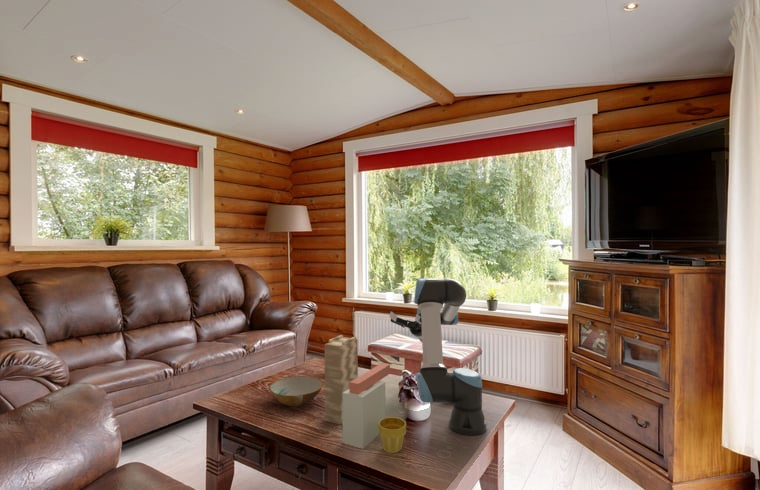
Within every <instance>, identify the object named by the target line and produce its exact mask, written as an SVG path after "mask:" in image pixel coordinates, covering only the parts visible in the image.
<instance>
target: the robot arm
mask: <svg viewBox="0 0 760 490" xmlns="http://www.w3.org/2000/svg"><path fill="white" fill-rule="evenodd" d="M415 283H416V284H415V287H414V288H415V290H414V298H413V304H415V305H417V309H416V315H415V319H414V321H413V320H410V319H409V320H408V319H403V318H401V317H398V316H397V314H395V313H394V312H393V311H390V313H389V318H390V323H393V324H396V325H398V326H400V327H402V328H403V329H406V328H407V329H409V331H410V333H411V334H412V335H413V336H414V337H416V339H417V340H419V341H420V342H421V345H422V349H421V350H422V365H421V367H420V368H419V372H417V373H416V384H417V391H418V395H419V399H420V400H421V402H423V403H431V404H433V403H437V404H440V403H445V404H446V403H449V404H450V403H452V405H453V407H452V410H451V414H450V416H449V419H448V426H449V428H450V429H451V430H452V431H454V432H455V433H458V434H460V435H464V436H479V435H481V434H483V433H485V432H486V431H487V421H486V419H485V415H484V412H483V380H482V376H481V374H480V373H479V372H477V371H475V370H473V369H470V368H465V367H457V368H454V369H453V371H452V372H448V368H447V366H446V365H444V356H443V339H442V326H455V325H458V324H459V313H458V312H459V310H460V307H461V306H462V305H464V303H465V302H466V300H467V291H466V288H465V287H464V286H463V284H462V283H461V282H459V281H457V280H456V279H453V278H450V277H449V278H438V277H437V278H435V277H434V278H429V277H426V278H419V279H418V278H417V280H416V282H415Z"/></svg>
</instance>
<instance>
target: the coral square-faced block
mask: <svg viewBox="0 0 760 490" xmlns="http://www.w3.org/2000/svg"><path fill="white" fill-rule="evenodd" d="M390 374H391V364H388V363H380V364H378V365H376V366H374V367H373V368H371V369H370V370H368V371H366V372H364V373H363V374H361V375H358V377H357V378H356V379H354V380H352V381H351V382H349V393H354V394H360V393H361V392H363V391H364V390H366V389H367V388H369V387H370V386H372V385H374V384H375V383H377V382H378V381H382V380H383V379H384V378H386V377H387V376H389V375H390Z"/></svg>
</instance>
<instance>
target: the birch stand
mask: <svg viewBox="0 0 760 490" xmlns="http://www.w3.org/2000/svg"><path fill="white" fill-rule="evenodd" d="M358 345H359V343H358V338H357V336H353V337H345V336H344V335H343V334H340V335H337V336H335V337H333V338H330V339H328V342H327V343H324V415H323V421H326V422H329V423H333V424H336V425H340V426H341V425H343V392H345V391H346V390H348V389H349V382H351V381H352V380H354V379H356V378H357V377H359V374H358V371H359V370H358V368H359V367H358V366H359V365H358V360H359V359H358V358H359V357H358V355H359V354H358V350H359V349H358V348H359V347H358Z"/></svg>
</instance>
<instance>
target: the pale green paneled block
mask: <svg viewBox="0 0 760 490" xmlns="http://www.w3.org/2000/svg"><path fill="white" fill-rule="evenodd" d="M383 418H386V381H384V380H380V381H378V382H377V383H375V384H374V385H372V386H370V387H369V388H367V389H366V390H364V391H363V392H361V393H360V394H354V393H349V389H348V390H346V391H345V392H343V423H342V443H343V444H345V445H347V446H352V447H355V448H359V449H363V450H364V448H365V447H366V446H368V445H369V444H370V443H371V442H372V441H373V440H374V439H376V438H377V437H378V436H379V435H380V434H379V421H380V420H381V419H383Z"/></svg>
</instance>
